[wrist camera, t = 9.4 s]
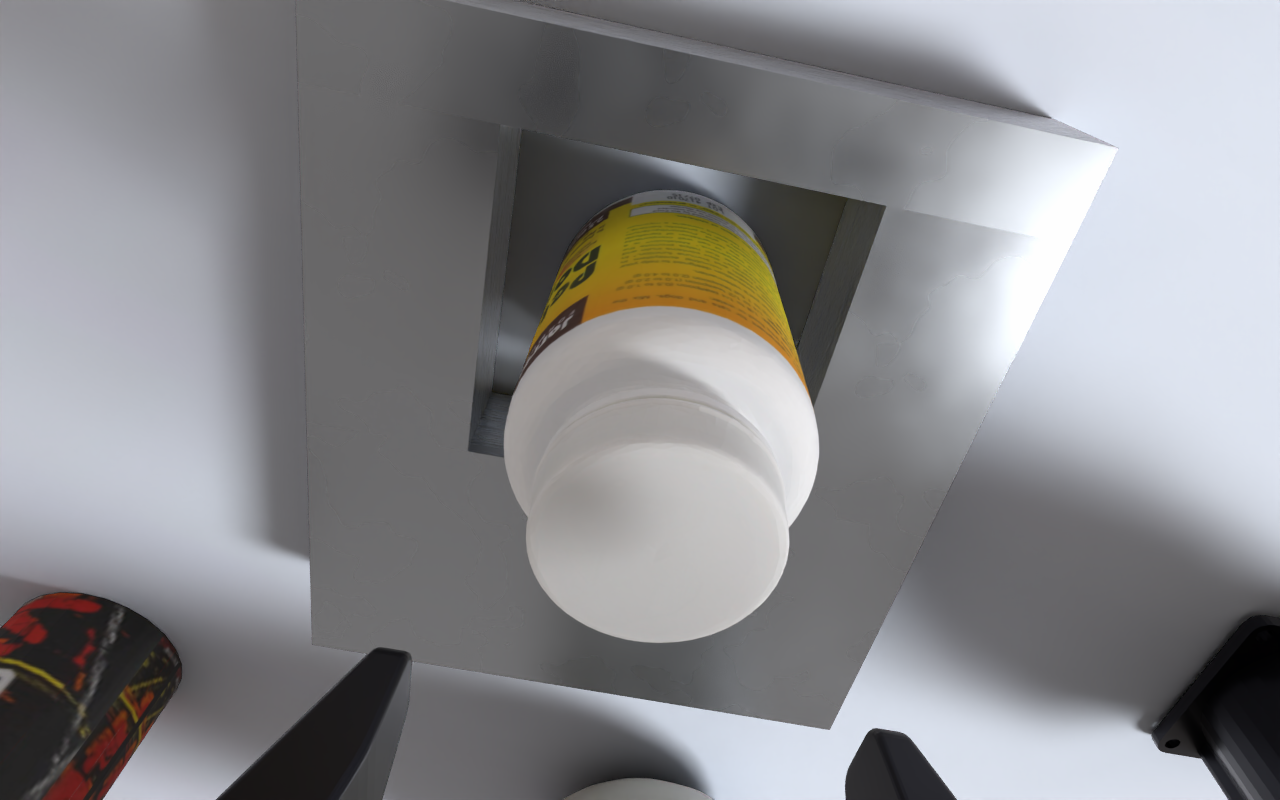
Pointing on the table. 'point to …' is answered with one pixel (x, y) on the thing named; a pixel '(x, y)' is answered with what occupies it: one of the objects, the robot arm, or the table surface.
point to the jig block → (472, 300)
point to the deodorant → (77, 695)
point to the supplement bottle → (661, 424)
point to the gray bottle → (638, 791)
